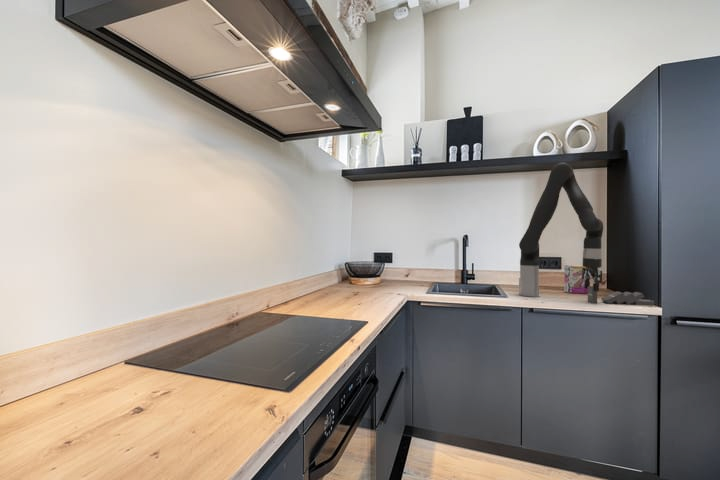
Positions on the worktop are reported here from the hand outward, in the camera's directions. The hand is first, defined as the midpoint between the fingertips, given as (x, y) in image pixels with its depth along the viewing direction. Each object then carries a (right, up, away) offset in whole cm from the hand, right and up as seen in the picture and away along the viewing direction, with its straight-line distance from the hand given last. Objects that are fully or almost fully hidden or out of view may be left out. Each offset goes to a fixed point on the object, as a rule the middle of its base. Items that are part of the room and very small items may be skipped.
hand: (591, 289), depth 146 cm
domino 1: (0, -6, 0) cm, 6 cm away
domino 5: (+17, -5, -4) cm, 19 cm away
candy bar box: (+13, -7, +28) cm, 31 cm away
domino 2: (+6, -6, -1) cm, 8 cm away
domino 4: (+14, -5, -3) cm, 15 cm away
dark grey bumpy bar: (+10, -6, -2) cm, 11 cm away
